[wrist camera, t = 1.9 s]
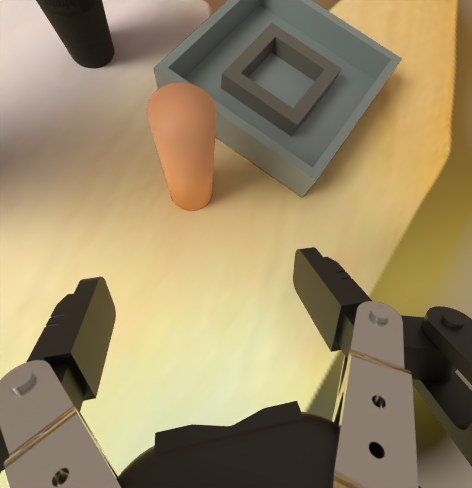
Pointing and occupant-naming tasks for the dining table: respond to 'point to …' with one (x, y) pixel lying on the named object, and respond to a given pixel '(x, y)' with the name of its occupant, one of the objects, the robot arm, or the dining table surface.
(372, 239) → the dining table surface
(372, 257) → the dining table surface
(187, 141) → the peg
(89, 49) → the drinking cup
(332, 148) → the tray
